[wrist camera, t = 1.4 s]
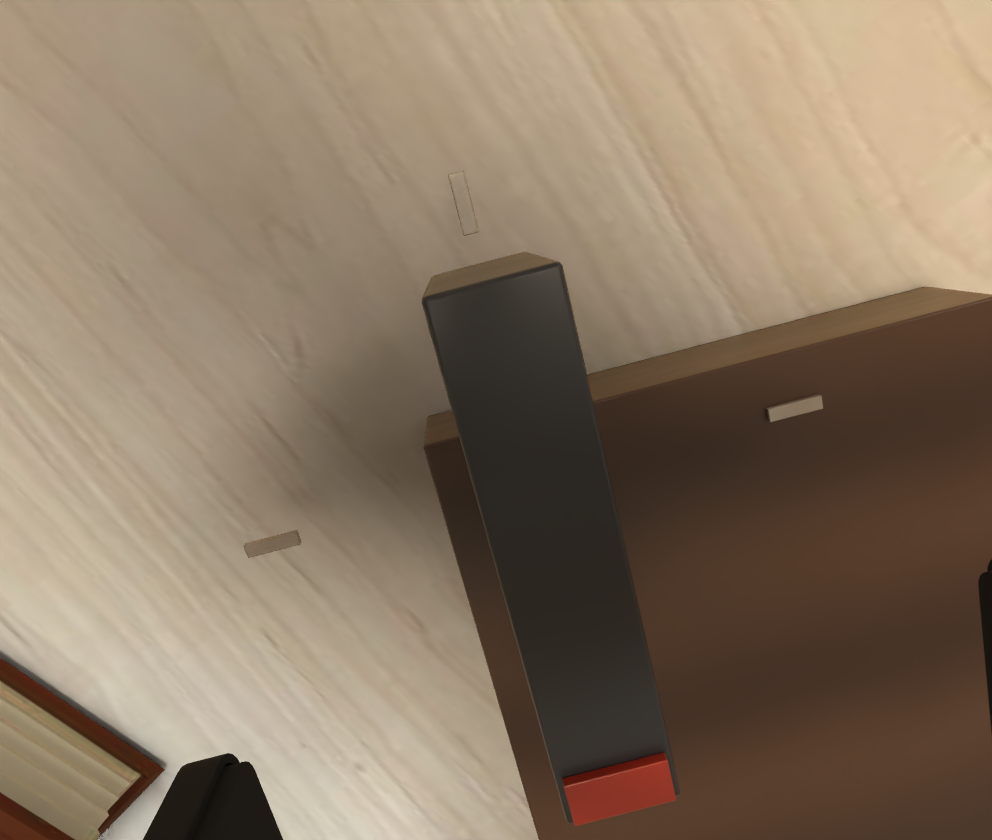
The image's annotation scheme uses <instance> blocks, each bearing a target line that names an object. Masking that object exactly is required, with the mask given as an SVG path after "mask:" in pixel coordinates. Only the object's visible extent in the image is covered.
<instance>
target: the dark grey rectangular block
mask: <svg viewBox="0 0 992 840" xmlns="http://www.w3.org/2000/svg"><path fill="white" fill-rule="evenodd" d="M422 305H423V309H424V312H425V316H426V320H427V323H428V327H429V330H430V334H431V337H432V341H433V345H434V348H435V352H436V355H437V359H438V363H439V366H440V370H441V373H442V377H443V381H444V384H445V388H446V391H447V395H448V398H449V402H450V406H451V409H452V413H453V416H454V420H455V424H456V427H457V431H458V434H459V438H460V441H461V445H462V449H463V452H464V456H465V459H466V463H467V467H468V470H469V474H470V477H471V481H472V485H473V488H474V492H475V495H476V499H477V502H478V506H479V510H480V513H481V517H482V520H483V524H484V528H485V531H486V535H487V538H488V542H489V545H490V549H491V553H492V556H493V560H494V563H495V567H496V571H497V574H498V578H499V581H500V585H501V588H502V592H503V596H504V599H505V603H506V606H507V610H508V614H509V617H510V621H511V624H512V628H513V632H514V635H515V639H516V642H517V646H518V649H519V653H520V657H521V660H522V664H523V667H524V671H525V675H526V678H527V682H528V685H529V689H530V692H531V696H532V700H533V703H534V707H535V710H536V714H537V718H538V721H539V725H540V728H541V732H542V735H543V739H544V743H545V746H546V750H547V753H548V757H549V761H550V764H551V768H552V771H553V775H554V779H555V782H556V786H557V789H558V793H559V796H560V800H561V804H562V807H563V811H564V814H565V818H566V820H567V822H568V823H569V824H573V823H574V825H575V826H578V825H582V824H586V823H589V822H593V821H597V820H601V819H605V818H609V817H613V816H617V815H621V814H625V813H628V812H632V811H636V810H640V809H644V808H648V807H652V806H656V805H660V804H664V803H667V802H671V801H675V800H676V797H677V796H679V794H680V788H679V784H678V779H677V775H676V770H675V766H674V761H673V757H672V752H671V748H670V743H669V739H668V735H667V730H666V726H665V721H664V717H663V712H662V708H661V703H660V699H659V694H658V690H657V685H656V681H655V677H654V672H653V668H652V663H651V659H650V654H649V650H648V645H647V641H646V636H645V632H644V627H643V623H642V618H641V614H640V610H639V605H638V601H637V596H636V592H635V587H634V583H633V578H632V574H631V569H630V565H629V560H628V556H627V552H626V547H625V543H624V538H623V534H622V529H621V525H620V520H619V516H618V511H617V507H616V502H615V498H614V494H613V489H612V485H611V480H610V476H609V471H608V467H607V462H606V458H605V453H604V449H603V444H602V440H601V436H600V431H599V427H598V422H597V418H596V413H595V409H594V404H593V400H592V395H591V391H590V386H589V382H588V378H587V373H586V369H585V364H584V360H583V355H582V351H581V346H580V342H579V337H578V333H577V328H576V324H575V320H574V315H573V311H572V306H571V302H570V297H569V293H568V288H567V284H566V279H565V275H564V270H563V266H562V264H561V263H560V262H558V261H554V260H551V259H548V258H544V257H541V256H538V255H535V254H531V253H528V252H522V253H518V254H514V255H510V256H507V257H503V258H499V259H495V260H491V261H488V262H484V263H480V264H476V265H472V266H469V267H465V268H461V269H457V270H453V271H450V272H446V273H442V274H438V275H434V276H433V277H431V279H430V282H429V284H428V286H427V289H426V291H425V293H424V296H423V298H422Z"/></svg>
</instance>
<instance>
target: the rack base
mask: <svg viewBox="0 0 992 840" xmlns="http://www.w3.org/2000/svg"><path fill="white" fill-rule="evenodd" d="M448 176H449V180H450V184H451V188H452V192H453V196H454V200H455V204H456V207H457V211H458V215H459V219H460V223H461V227H462V231H463V235H464V236H466V235H470V234H473V233H477V232H479V231H478V227H477V223H476V219H475V215H474V211H473V207H472V203H471V199H470V195H469V191H468V187H467V183H466V179H465V175H464V171H460V172H456V173H452V174H449V175H448ZM587 378H588V382H589V386H590V391H591V395H592V400H593V404H594V409H595V413H596V418H597V422H598V427H599V431H600V436H601V440H602V444H603V449H604V453H605V458H606V462H607V467H608V471H609V476H610V480H611V485H612V489H613V494H614V498H615V502H616V507H617V511H618V516H619V520H620V525H621V529H622V534H623V538H624V543H625V547H626V552H627V556H628V560H629V565H630V569H631V574H632V578H633V583H634V587H635V592H636V596H637V601H638V605H639V610H640V614H641V618H642V623H643V627H644V632H645V636H646V641H647V645H648V650H649V654H650V659H651V663H652V668H653V672H654V677H655V681H656V685H657V690H658V694H659V699H660V703H661V708H662V712H663V717H664V721H665V726H666V730H667V735H668V739H669V743H670V748H671V752H672V757H673V761H674V766H675V770H676V775H677V779H678V784H679V788H680V794H679V796H677V797H676V800H675V801H671V802H667V803H664V804H660V805H656V806H652V807H648V808H644V809H640V810H636V811H632V812H628V813H625V814H621V815H617V816H613V817H609V818H605V819H601V820H597V821H593V822H589V823H586V824H582V825H578V826H575V825H574V823H573V824H569V823H568V822H567V820H566V818H565V814H564V811H563V807H562V804H561V800H560V796H559V793H558V789H557V786H556V782H555V779H554V775H553V771H552V768H551V764H550V761H549V757H548V753H547V750H546V746H545V743H544V739H543V735H542V732H541V728H540V725H539V721H538V718H537V714H536V710H535V707H534V703H533V700H532V696H531V692H530V689H529V685H528V682H527V678H526V675H525V671H524V667H523V664H522V660H521V657H520V653H519V649H518V646H517V642H516V639H515V635H514V632H513V628H512V624H511V621H510V617H509V614H508V610H507V606H506V603H505V599H504V596H503V592H502V588H501V585H500V581H499V578H498V574H497V571H496V567H495V563H494V560H493V556H492V553H491V549H490V545H489V542H488V538H487V535H486V531H485V528H484V524H483V520H482V517H481V513H480V510H479V506H478V502H477V499H476V495H475V492H474V488H473V485H472V481H471V477H470V474H469V470H468V467H467V463H466V459H465V456H464V452H463V449H462V445H461V441H460V438H459V434H458V431H457V427H456V424H455V420H454V416H453V413H452V410H451V411H447V412H443V413H440V414H436V415H432V416H429V417H428V418H427V425H426V433H425V441H424V451H425V454H426V458H427V461H428V464H429V468H430V471H431V475H432V478H433V481H434V485H435V488H436V492H437V495H438V498H439V502H440V505H441V509H442V512H443V515H444V519H445V522H446V526H447V529H448V532H449V536H450V539H451V543H452V546H453V549H454V553H455V556H456V560H457V563H458V566H459V570H460V573H461V577H462V580H463V583H464V587H465V590H466V594H467V597H468V600H469V604H470V607H471V611H472V614H473V617H474V621H475V624H476V628H477V631H478V634H479V638H480V641H481V645H482V648H483V651H484V655H485V658H486V662H487V665H488V668H489V672H490V675H491V679H492V682H493V686H494V689H495V692H496V696H497V699H498V703H499V706H500V709H501V713H502V716H503V720H504V723H505V726H506V730H507V733H508V737H509V740H510V743H511V747H512V750H513V754H514V757H515V760H516V764H517V767H518V771H519V774H520V777H521V781H522V784H523V788H524V791H525V794H526V798H527V801H528V805H529V808H530V811H531V815H532V818H533V822H534V825H535V828H536V832H537V835H538V839H539V840H992V734H991V723H990V711H989V700H988V689H987V678H986V667H985V656H984V644H983V633H982V622H981V611H980V600H979V588H978V580H979V577H980V575H981V574H982V573H984V572H987V566H988V564H989V562H990V560H991V559H992V295H990V294H982V293H973V292H965V291H957V290H949V289H940V288H932V287H922V288H918V289H915V290H911V291H907V292H903V293H899V294H895V295H892V296H888V297H884V298H880V299H876V300H872V301H869V302H865V303H861V304H857V305H853V306H849V307H846V308H842V309H838V310H834V311H830V312H826V313H823V314H819V315H815V316H811V317H807V318H803V319H800V320H796V321H792V322H788V323H784V324H780V325H777V326H773V327H769V328H765V329H761V330H757V331H754V332H750V333H746V334H742V335H738V336H735V337H731V338H727V339H723V340H719V341H715V342H712V343H708V344H704V345H700V346H696V347H692V348H689V349H685V350H681V351H677V352H673V353H669V354H666V355H662V356H658V357H654V358H650V359H646V360H643V361H639V362H635V363H631V364H627V365H623V366H620V367H616V368H612V369H608V370H604V371H600V372H597V373H593V374H589V375H587ZM300 544H301V539H300V536H299V533H298V531H297V530H295V531H291V532H288V533H284V534H280V535H276V536H272V537H268V538H264V539H261V540H257V541H253V542H249V543H245V545H244V548H245V551H246V554H247V556H248V558H250V557H254V556H258V555H262V554H266V553H270V552H273V551H277V550H281V549H285V548H289V547H293V546H296V545H300Z"/></svg>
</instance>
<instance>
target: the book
mask: <svg viewBox="0 0 992 840" xmlns="http://www.w3.org/2000/svg"><path fill="white" fill-rule="evenodd" d="M164 770H165V769H163V768H162V767H160V766H159V765H158V764H156V763H155V762H153V761H152V760H150V759H149V758H147V757H146V756H144V755H143V754H141V753H140V752H138V751H137V750H135V749H134V748H132V747H131V746H129V745H128V744H127V743H125V742H124V741H122V740H121V739H119V738H118V737H116V736H115V735H113V734H112V733H110V732H109V731H107V730H106V729H104V728H103V727H101V726H100V725H98V724H97V723H95V722H94V721H93V720H91V719H90V718H88V717H87V716H85V715H84V714H82V713H81V712H79V711H78V710H76V709H75V708H73V707H72V706H70V705H69V704H67V703H66V702H64V701H63V700H61V699H60V698H59V697H57V696H56V695H54V694H53V693H51V692H50V691H48V690H47V689H45V688H44V687H42V686H41V685H39V684H38V683H36V682H35V681H33V680H32V679H30V678H29V677H28V676H26V675H25V674H23V673H22V672H20V671H19V670H17V669H16V668H14V667H13V666H11V665H10V664H8V663H7V662H5V661H4V660H2V659H1V658H0V840H97V839H98V838H99V836H100V835H101V834H102V833H103V832H104V831H105V830H106V829H107V828H108V827H109V826H110V825H111V824H112V823H113V822H114V821H115V820H116V819H117V818H118V817H119V816H120V815H121V814H122V813H123V812H124V811H125V810H126V809H127V808H128V807H129V806H130V805H131V804H132V803H133V802H134V801H135V800H136V799H137V798H138V797H139V796H140V795H141V794H142V792H143V791H144V790H145V789H146V788H147V787H148V786H149V785H150V784H151V783H152V782H153V781H154V780H155V779H156V778H157V777H158V776H159V775H160V774H161V773H162V772H163V771H164Z"/></svg>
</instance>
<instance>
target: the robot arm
mask: <svg viewBox="0 0 992 840" xmlns="http://www.w3.org/2000/svg"><path fill="white" fill-rule="evenodd" d="M978 588H979V600H980V611H981V622H982V633H983V644H984V656H985V667H986V678H987V689H988V700H989V711H990V723H991V734H992V559H991V560H990V562H989V564H988V566H987V572H984V573H982V574H981V575H980V577H979V580H978ZM143 840H283V838H282V836H281V833H280V831H279V829H278V826H277V824H276V821H275V819H274V816H273V814H272V811H271V809H270V806H269V804H268V801H267V799H266V796H265V794H264V792H263V789H262V787H261V784H260V782H259V779H258V777H257V774H256V772H255V770H254V768H253V766H252V765H251V764H250V763H249V762H246V761H245V762H241V763H240V762H239V761H238V759H237V758H236V757H235V756H234V755H233V754H229V753H227V754H223V755H219V756H216V757H212V758H208V759H204V760H200V761H196V762H192V763H188V764H186V765H184V766H182V767H181V769H180V770H179V772H178V773H177V775H176V777H175V779H174V781H173V783H172V785H171V787H170V788H169V790H168V792H167V794H166V796H165V798H164V800H163V802H162V804H161V806H160V808H159V810H158V812H157V814H156V816H155V817H154V819H153V821H152V823H151V825H150V827H149V829H148V831H147V833H146V835H145V837H144V839H143Z"/></svg>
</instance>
